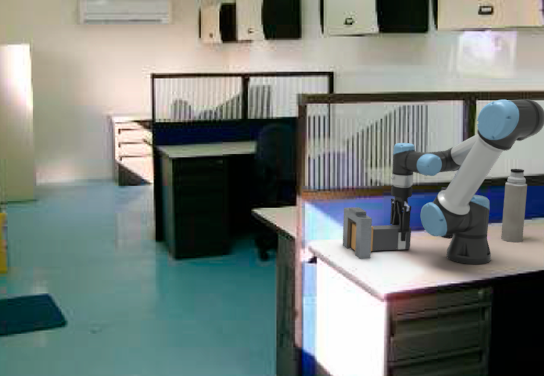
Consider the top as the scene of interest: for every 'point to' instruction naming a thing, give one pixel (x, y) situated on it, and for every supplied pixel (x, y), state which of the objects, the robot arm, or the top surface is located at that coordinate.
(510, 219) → the thermos bottle
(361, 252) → the housing
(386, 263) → the top surface
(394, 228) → the grey and orange block
